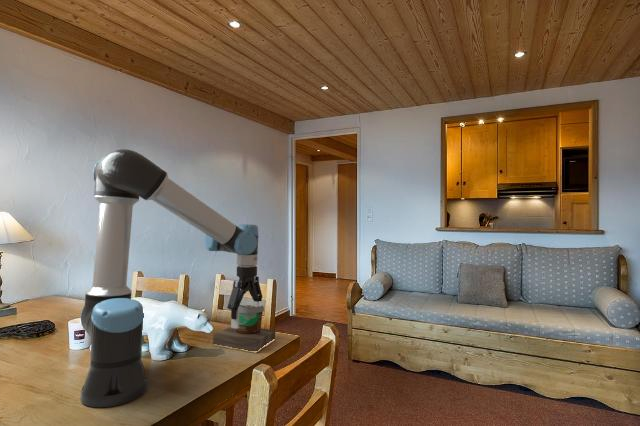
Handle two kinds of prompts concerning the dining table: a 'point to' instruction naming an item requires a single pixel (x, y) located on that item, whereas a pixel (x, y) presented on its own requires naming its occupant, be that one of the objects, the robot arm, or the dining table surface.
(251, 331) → the food container
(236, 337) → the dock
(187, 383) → the dining table surface
